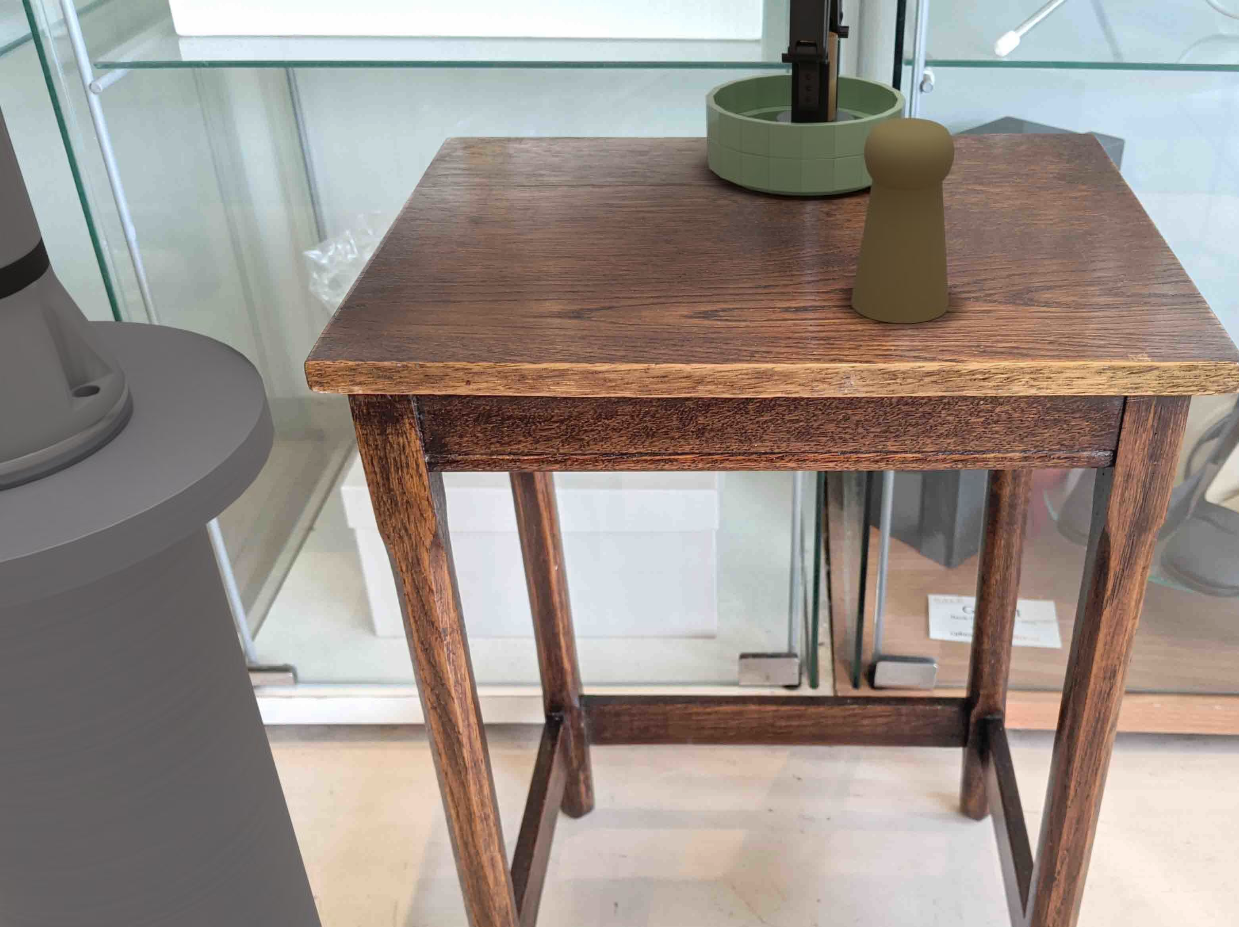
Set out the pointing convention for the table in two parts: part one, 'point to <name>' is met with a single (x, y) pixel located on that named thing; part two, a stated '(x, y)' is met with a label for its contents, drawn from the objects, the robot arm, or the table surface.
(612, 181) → the table surface
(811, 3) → the robot arm
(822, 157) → the bowl
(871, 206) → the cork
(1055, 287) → the table surface
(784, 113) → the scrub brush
